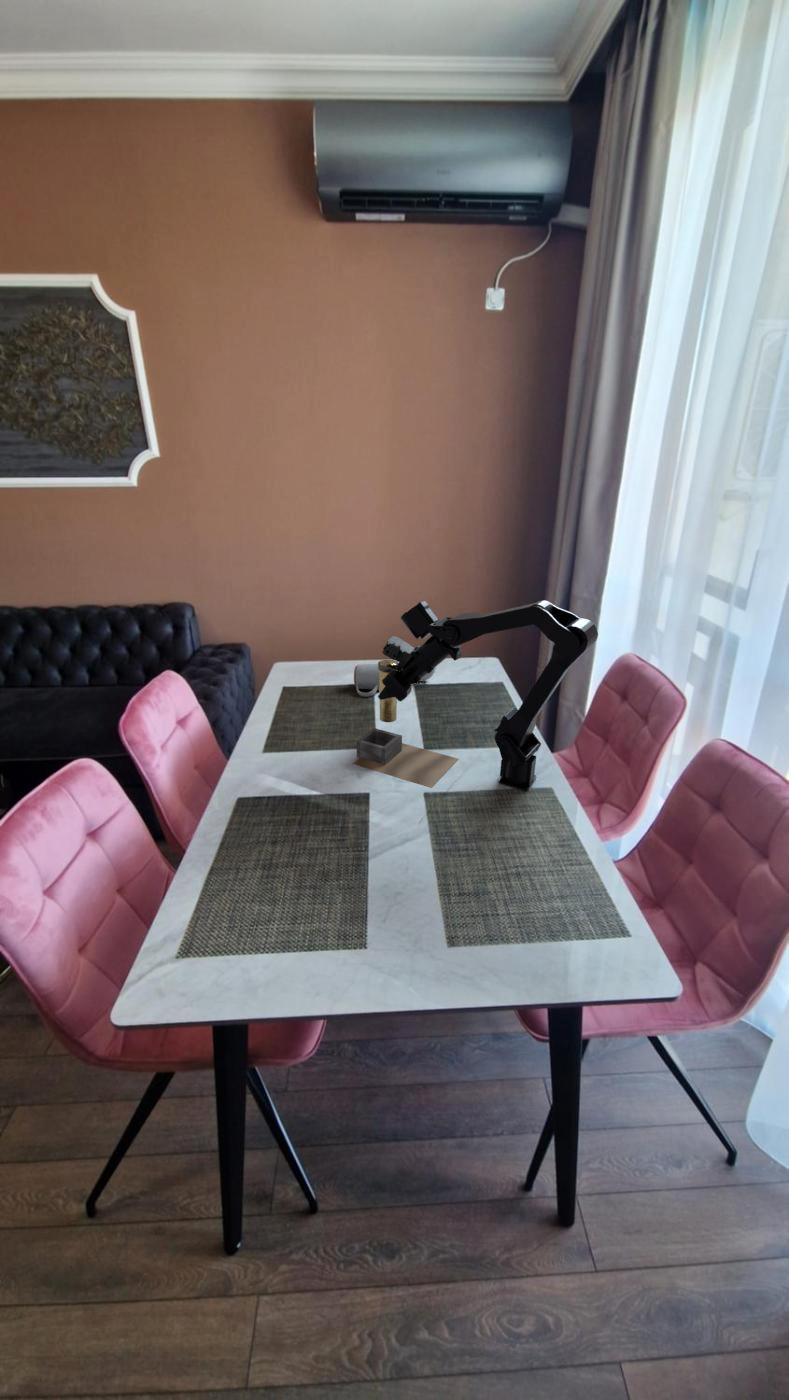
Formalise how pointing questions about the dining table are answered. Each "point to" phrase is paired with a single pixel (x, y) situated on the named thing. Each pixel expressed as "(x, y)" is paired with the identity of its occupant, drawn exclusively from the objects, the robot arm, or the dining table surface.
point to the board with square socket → (401, 758)
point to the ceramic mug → (366, 678)
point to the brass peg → (386, 705)
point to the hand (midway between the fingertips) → (382, 694)
